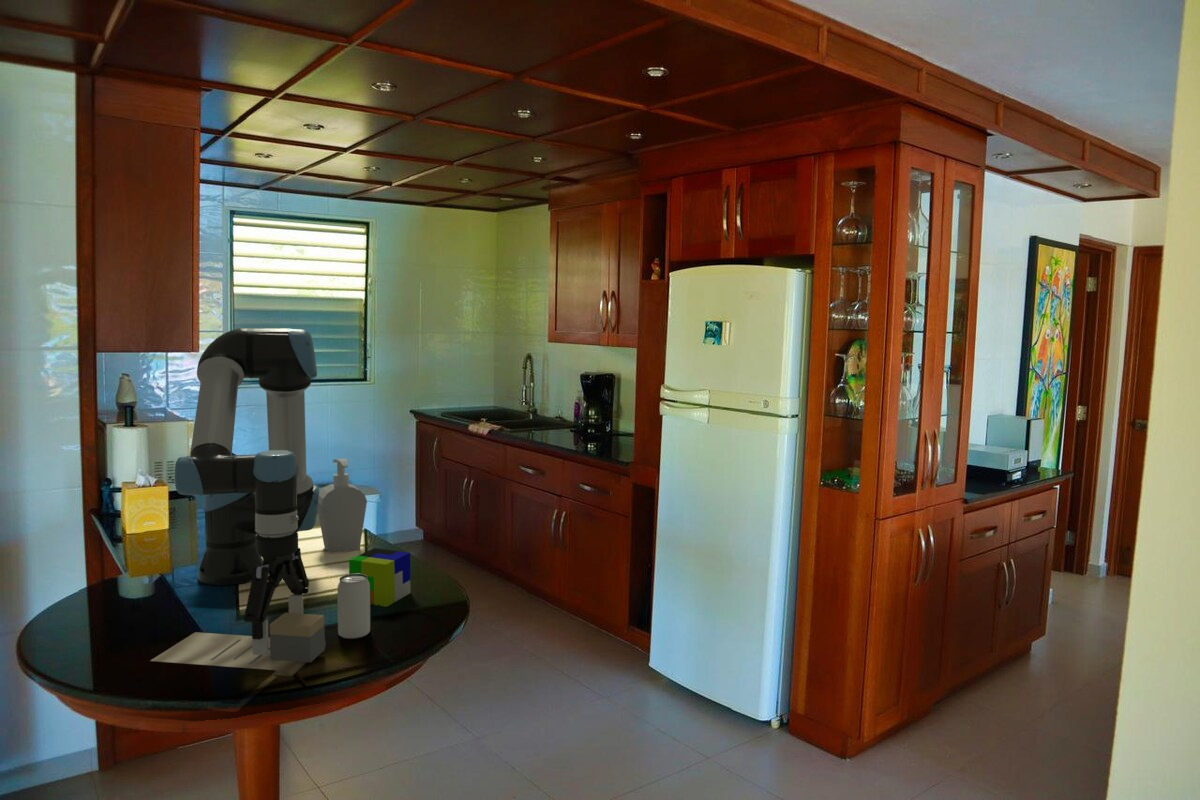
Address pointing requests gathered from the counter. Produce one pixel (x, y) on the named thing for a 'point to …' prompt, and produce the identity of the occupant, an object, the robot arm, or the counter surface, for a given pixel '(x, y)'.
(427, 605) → the counter surface
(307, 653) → the block
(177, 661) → the board
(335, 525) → the soap bottle
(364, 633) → the can
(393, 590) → the puzzle toy
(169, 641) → the counter surface
